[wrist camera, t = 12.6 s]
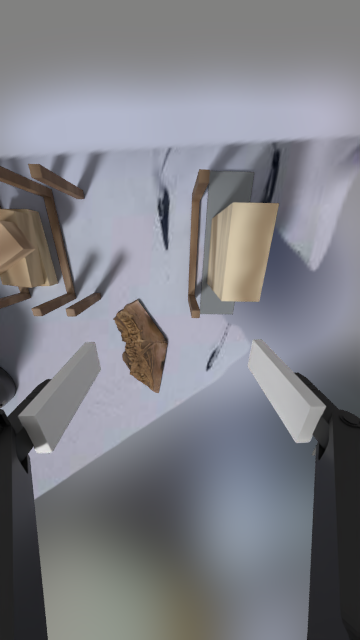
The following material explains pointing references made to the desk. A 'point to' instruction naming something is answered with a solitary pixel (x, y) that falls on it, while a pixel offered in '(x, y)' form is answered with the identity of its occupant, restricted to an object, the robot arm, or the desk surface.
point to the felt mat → (220, 195)
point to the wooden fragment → (142, 344)
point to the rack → (70, 189)
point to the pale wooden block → (240, 250)
